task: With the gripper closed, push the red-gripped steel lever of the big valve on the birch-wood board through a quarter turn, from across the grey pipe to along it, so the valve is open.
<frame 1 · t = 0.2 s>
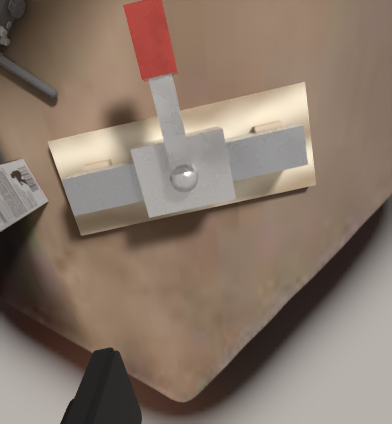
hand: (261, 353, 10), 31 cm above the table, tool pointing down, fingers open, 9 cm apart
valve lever: (167, 105, 28), point 10 cm above the table, hinge at 0.0°
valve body: (185, 169, 34), point 5 cm above the table
valve board: (185, 162, 39), on the table
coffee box: (7, 193, 40), on the table
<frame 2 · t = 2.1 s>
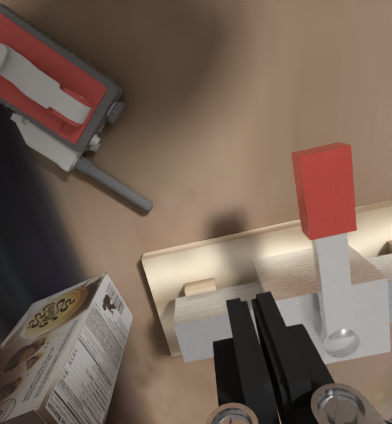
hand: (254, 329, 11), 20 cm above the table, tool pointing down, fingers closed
walkie-talkie: (79, 114, 28), on the table
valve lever: (331, 262, 22), point 10 cm above the table, hinge at 0.0°
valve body: (315, 301, 28), point 5 cm above the table
valve board: (297, 273, 33), on the table
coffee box: (85, 308, 34), on the table
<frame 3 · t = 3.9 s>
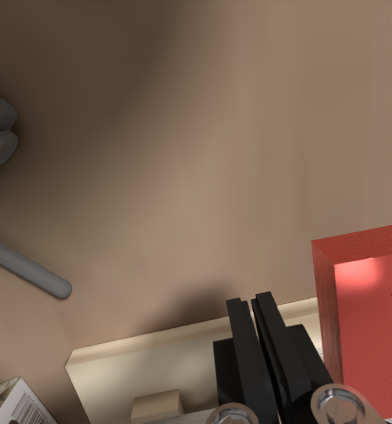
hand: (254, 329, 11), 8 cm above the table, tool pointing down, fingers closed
valve board: (304, 374, 22), on the table
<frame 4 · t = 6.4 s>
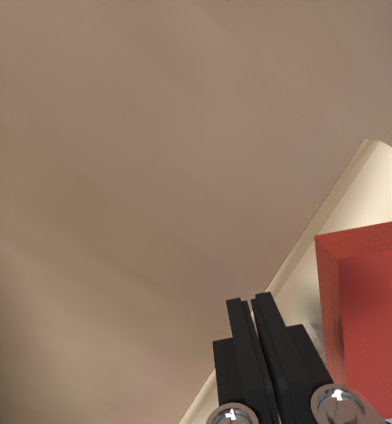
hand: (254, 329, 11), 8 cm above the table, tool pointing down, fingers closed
valve board: (307, 374, 22), on the table
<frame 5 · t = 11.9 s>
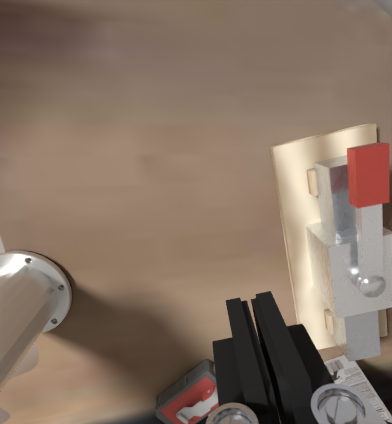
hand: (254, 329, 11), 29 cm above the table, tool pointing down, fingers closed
walkie-talkie: (213, 379, 50), on the table
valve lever: (369, 225, 31), point 10 cm above the table, hinge at 92.1°
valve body: (348, 263, 38), point 5 cm above the table
valve board: (331, 246, 42), on the table
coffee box: (338, 378, 49), on the table
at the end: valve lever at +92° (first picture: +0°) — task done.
